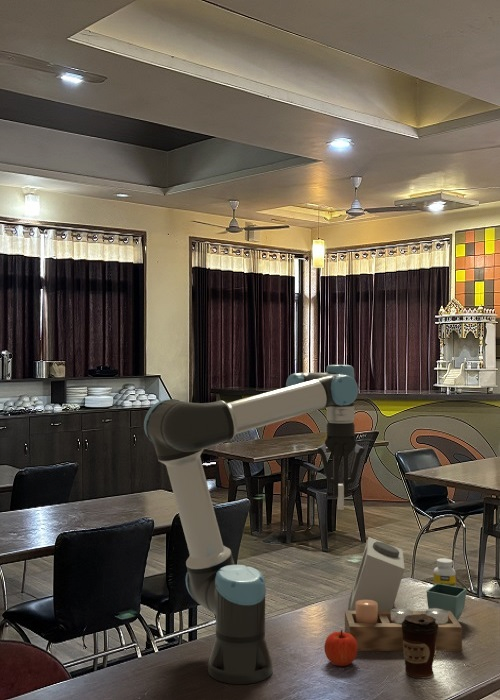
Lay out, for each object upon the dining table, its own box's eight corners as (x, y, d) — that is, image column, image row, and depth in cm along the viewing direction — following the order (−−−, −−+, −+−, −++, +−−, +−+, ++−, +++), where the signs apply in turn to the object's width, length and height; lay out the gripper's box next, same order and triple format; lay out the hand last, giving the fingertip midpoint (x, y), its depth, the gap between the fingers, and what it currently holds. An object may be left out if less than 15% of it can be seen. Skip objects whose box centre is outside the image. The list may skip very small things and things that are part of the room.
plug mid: (392, 642, 200) (392, 615, 200) (389, 634, 206) (389, 607, 206) (414, 642, 200) (414, 615, 200) (410, 634, 206) (410, 608, 206)
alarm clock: (349, 600, 236) (349, 532, 236) (402, 603, 234) (402, 535, 234) (346, 624, 216) (346, 550, 216) (404, 627, 214) (404, 552, 214)
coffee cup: (430, 684, 177) (430, 627, 177) (395, 676, 182) (395, 620, 181) (443, 671, 185) (443, 616, 184) (409, 663, 189) (409, 609, 189)
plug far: (427, 642, 200) (427, 615, 200) (423, 634, 206) (423, 608, 206) (450, 643, 200) (450, 615, 200) (445, 635, 206) (445, 608, 205)
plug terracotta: (357, 634, 200) (357, 606, 200) (354, 626, 206) (354, 599, 206) (379, 634, 200) (379, 606, 200) (375, 626, 206) (375, 599, 206)
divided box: (349, 650, 197) (349, 626, 197) (344, 632, 209) (344, 610, 209) (461, 651, 197) (461, 627, 197) (450, 633, 209) (450, 611, 209)
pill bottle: (434, 601, 235) (434, 562, 235) (432, 594, 241) (432, 557, 241) (456, 602, 234) (456, 563, 234) (454, 595, 240) (454, 557, 240)
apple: (338, 654, 195) (338, 622, 195) (364, 663, 189) (364, 630, 189) (317, 663, 189) (317, 630, 189) (343, 673, 184) (343, 638, 184)
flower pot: (467, 620, 219) (467, 588, 219) (457, 629, 212) (457, 596, 212) (436, 614, 224) (436, 582, 224) (425, 623, 216) (425, 591, 216)
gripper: (317, 423, 210) (317, 511, 210) (366, 423, 209) (366, 511, 209) (315, 420, 217) (315, 505, 217) (363, 420, 217) (363, 505, 217)
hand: (340, 508), depth 213 cm, fingers closed
